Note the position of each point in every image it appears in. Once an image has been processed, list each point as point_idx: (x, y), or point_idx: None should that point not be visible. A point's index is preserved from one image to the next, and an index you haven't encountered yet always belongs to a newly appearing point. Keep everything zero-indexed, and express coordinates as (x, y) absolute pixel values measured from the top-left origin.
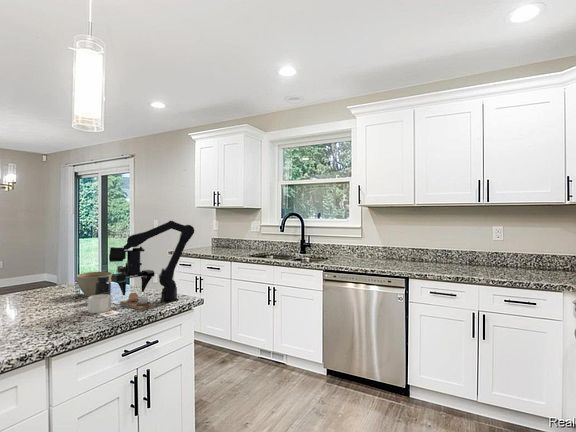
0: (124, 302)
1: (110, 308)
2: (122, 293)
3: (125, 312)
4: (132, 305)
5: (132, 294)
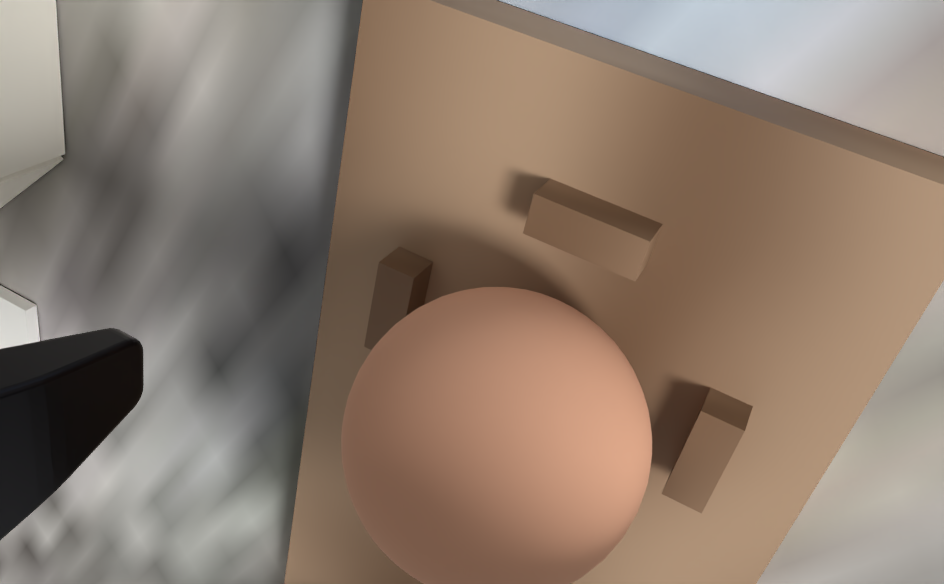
0: (348, 217)
1: (29, 179)
2: (51, 344)
3: (124, 525)
4: (291, 536)
5: (367, 529)
